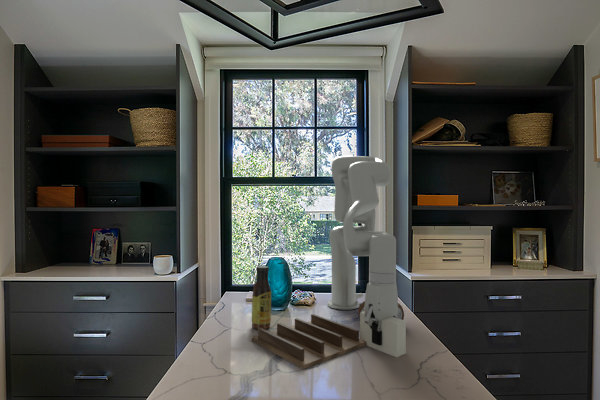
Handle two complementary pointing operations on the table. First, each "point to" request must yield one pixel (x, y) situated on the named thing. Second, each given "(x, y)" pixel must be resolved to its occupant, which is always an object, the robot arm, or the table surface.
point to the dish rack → (310, 341)
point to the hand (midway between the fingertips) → (382, 341)
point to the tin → (399, 316)
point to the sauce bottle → (261, 300)
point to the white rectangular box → (386, 335)
